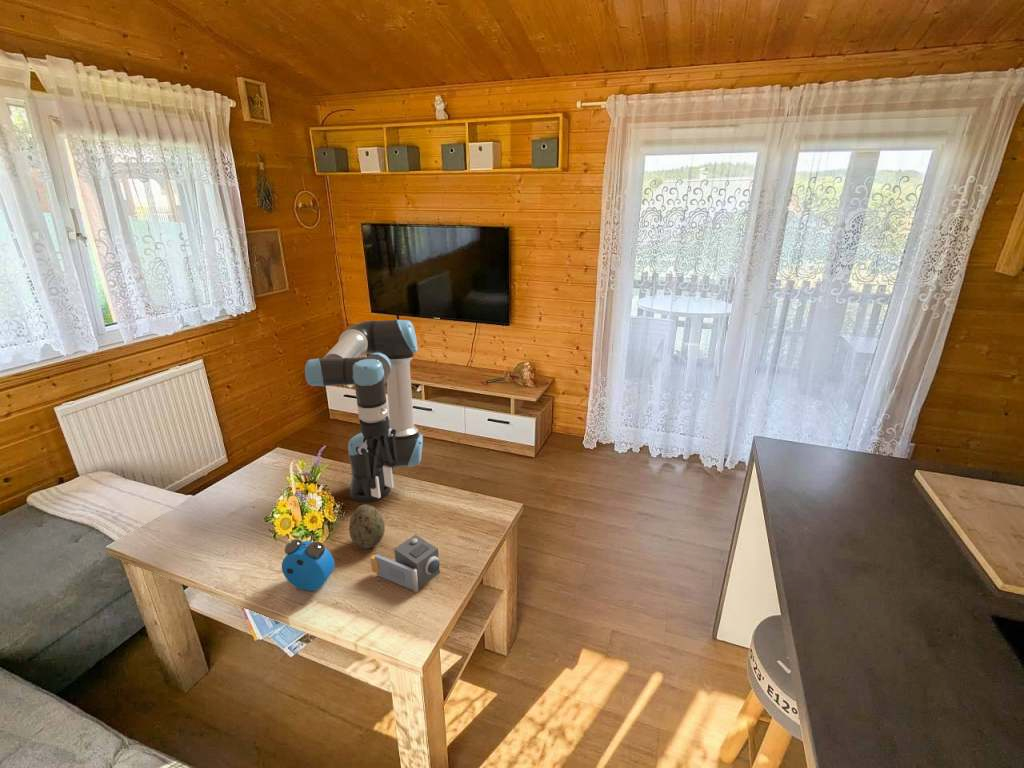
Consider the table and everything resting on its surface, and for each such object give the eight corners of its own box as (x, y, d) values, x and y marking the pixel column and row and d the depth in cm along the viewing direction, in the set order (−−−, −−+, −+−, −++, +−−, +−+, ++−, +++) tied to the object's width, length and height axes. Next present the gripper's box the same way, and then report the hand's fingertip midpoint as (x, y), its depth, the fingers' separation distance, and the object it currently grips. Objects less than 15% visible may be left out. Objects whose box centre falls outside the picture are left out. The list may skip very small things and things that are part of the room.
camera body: (397, 572, 143) (393, 546, 139) (417, 558, 148) (415, 532, 145) (422, 591, 136) (420, 564, 132) (443, 574, 142) (441, 548, 138)
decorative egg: (368, 561, 147) (362, 521, 142) (344, 548, 153) (338, 509, 147) (393, 541, 156) (389, 502, 150) (370, 529, 161) (365, 492, 156)
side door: (372, 574, 142) (369, 554, 139) (375, 571, 143) (373, 551, 140) (416, 593, 135) (414, 572, 132) (419, 589, 136) (417, 569, 134)
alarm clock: (338, 579, 140) (330, 537, 135) (327, 595, 135) (318, 552, 129) (297, 573, 143) (288, 532, 137) (285, 589, 137) (275, 547, 131)
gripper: (360, 434, 118) (371, 512, 127) (406, 407, 133) (413, 478, 142) (338, 428, 121) (350, 504, 130) (385, 402, 136) (393, 472, 145)
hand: (382, 491), depth 136 cm, fingers open, 5 cm apart
